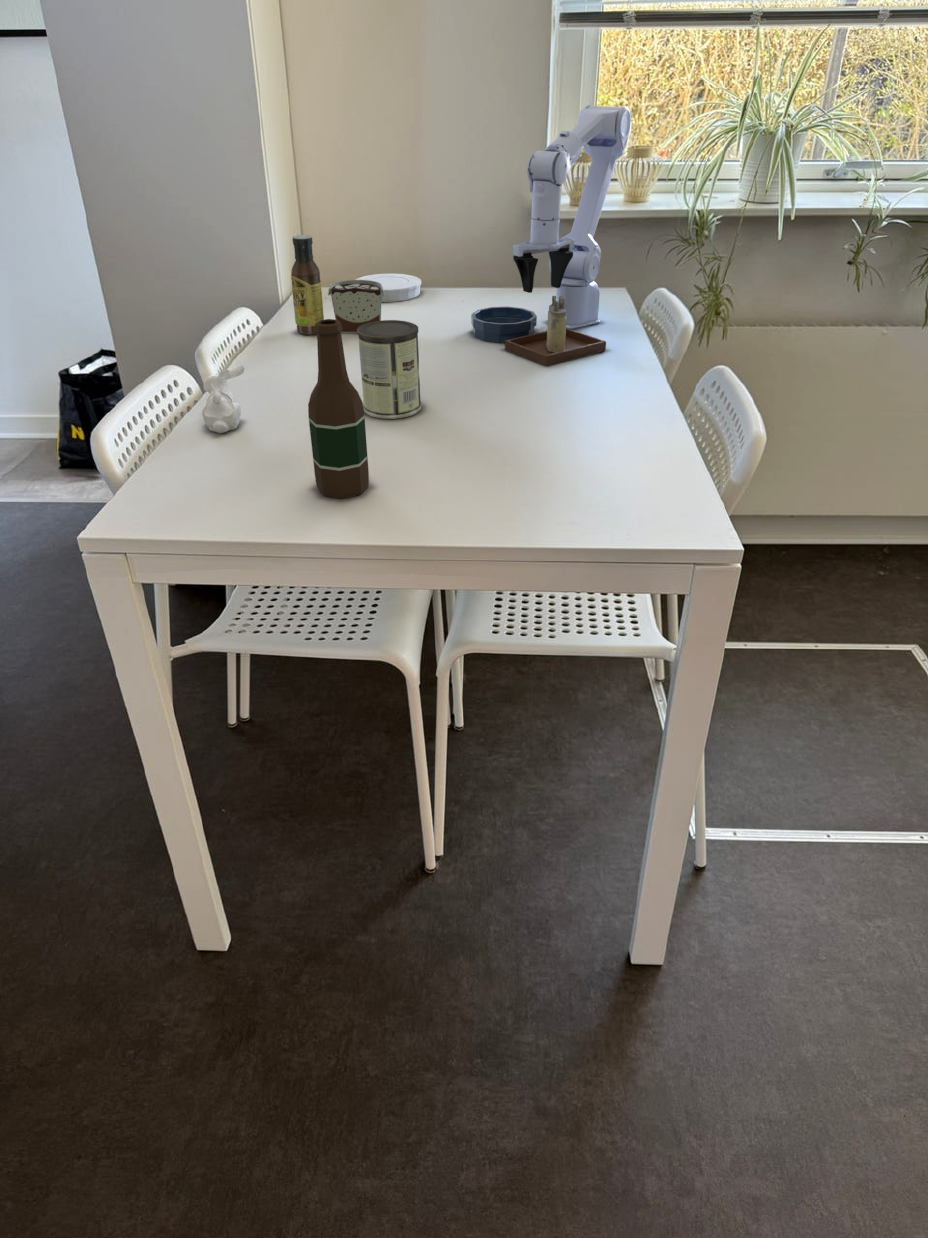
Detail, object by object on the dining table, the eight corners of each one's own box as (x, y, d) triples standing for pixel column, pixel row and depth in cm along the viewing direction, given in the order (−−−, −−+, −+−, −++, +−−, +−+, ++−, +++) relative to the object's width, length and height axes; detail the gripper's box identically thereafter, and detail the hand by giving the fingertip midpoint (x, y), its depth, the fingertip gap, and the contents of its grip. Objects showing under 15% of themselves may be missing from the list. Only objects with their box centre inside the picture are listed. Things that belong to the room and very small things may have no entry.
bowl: (508, 321, 203) (508, 303, 200) (548, 335, 193) (548, 316, 191) (459, 331, 196) (459, 313, 194) (498, 346, 187) (498, 327, 184)
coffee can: (377, 395, 162) (372, 317, 155) (429, 402, 160) (427, 322, 152) (353, 415, 154) (346, 333, 146) (408, 422, 152) (404, 339, 144)
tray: (563, 336, 193) (563, 326, 192) (605, 350, 184) (606, 341, 183) (504, 349, 185) (504, 340, 184) (546, 366, 176) (546, 356, 175)
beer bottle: (317, 477, 133) (300, 314, 120) (369, 475, 134) (358, 312, 120) (314, 500, 127) (296, 330, 113) (369, 498, 127) (357, 328, 114)
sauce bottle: (292, 330, 197) (281, 234, 186) (317, 326, 200) (308, 231, 189) (304, 337, 193) (293, 240, 182) (330, 333, 196) (321, 236, 185)
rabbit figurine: (208, 412, 156) (199, 357, 151) (252, 409, 157) (244, 355, 152) (203, 438, 146) (192, 380, 141) (250, 435, 147) (241, 378, 142)
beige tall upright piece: (565, 353, 181) (568, 302, 175) (547, 353, 181) (549, 303, 175) (562, 342, 187) (564, 293, 181) (544, 343, 187) (546, 293, 181)
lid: (330, 295, 223) (329, 282, 221) (392, 281, 234) (392, 270, 233) (373, 308, 212) (372, 295, 211) (435, 293, 224) (435, 281, 222)
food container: (391, 325, 200) (388, 279, 195) (386, 333, 195) (383, 286, 190) (337, 324, 201) (333, 278, 196) (331, 332, 196) (327, 285, 191)
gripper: (530, 224, 171) (527, 297, 179) (585, 217, 178) (580, 288, 186) (507, 219, 176) (505, 290, 183) (562, 213, 183) (558, 282, 191)
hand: (541, 289), depth 185 cm, fingers open, 7 cm apart
